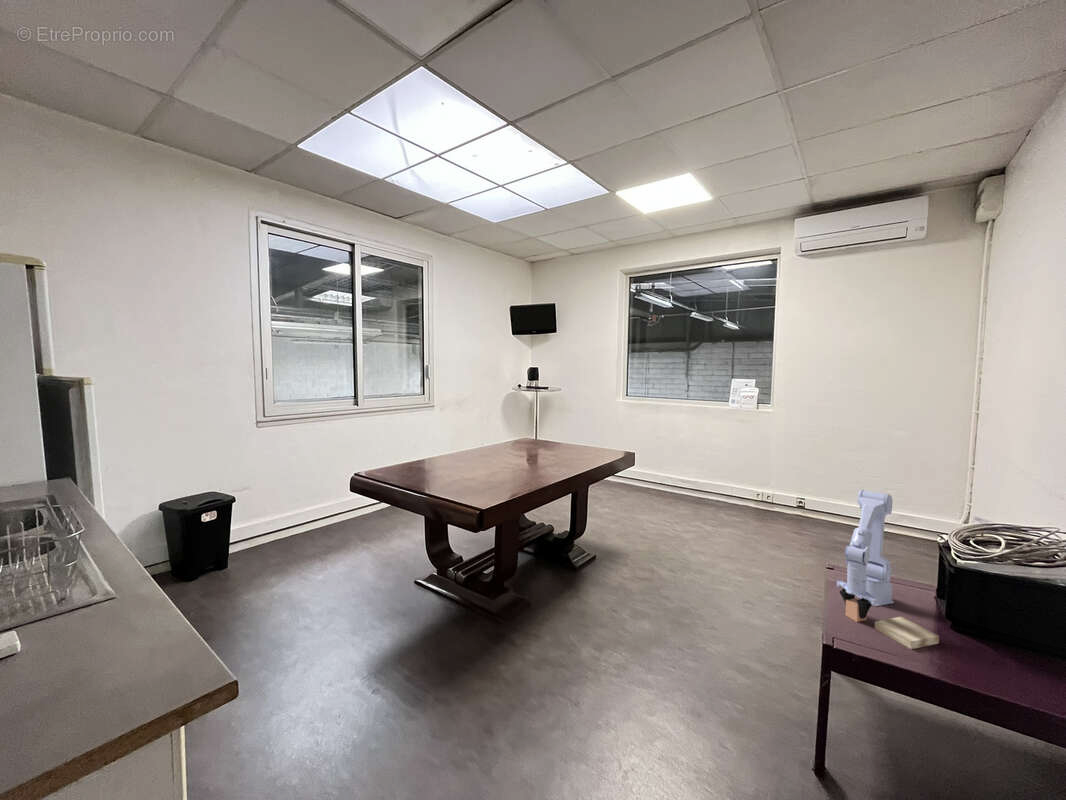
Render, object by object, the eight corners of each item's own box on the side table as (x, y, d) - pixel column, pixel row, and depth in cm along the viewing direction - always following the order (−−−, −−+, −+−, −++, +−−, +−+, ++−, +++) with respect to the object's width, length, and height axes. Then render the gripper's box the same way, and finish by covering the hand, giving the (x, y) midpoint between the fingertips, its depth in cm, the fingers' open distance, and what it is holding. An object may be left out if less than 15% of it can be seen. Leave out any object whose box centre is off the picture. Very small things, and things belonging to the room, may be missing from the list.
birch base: (901, 624, 156) (901, 616, 156) (938, 644, 145) (939, 635, 145) (874, 629, 154) (874, 621, 154) (910, 650, 142) (911, 641, 142)
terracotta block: (855, 613, 163) (855, 598, 163) (866, 620, 159) (867, 604, 159) (845, 615, 162) (845, 599, 162) (856, 621, 158) (857, 606, 158)
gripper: (830, 571, 166) (829, 605, 167) (867, 589, 152) (866, 626, 153) (845, 568, 167) (844, 602, 168) (883, 586, 153) (882, 623, 154)
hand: (856, 613), depth 161 cm, fingers closed on terracotta block, 4 cm apart
